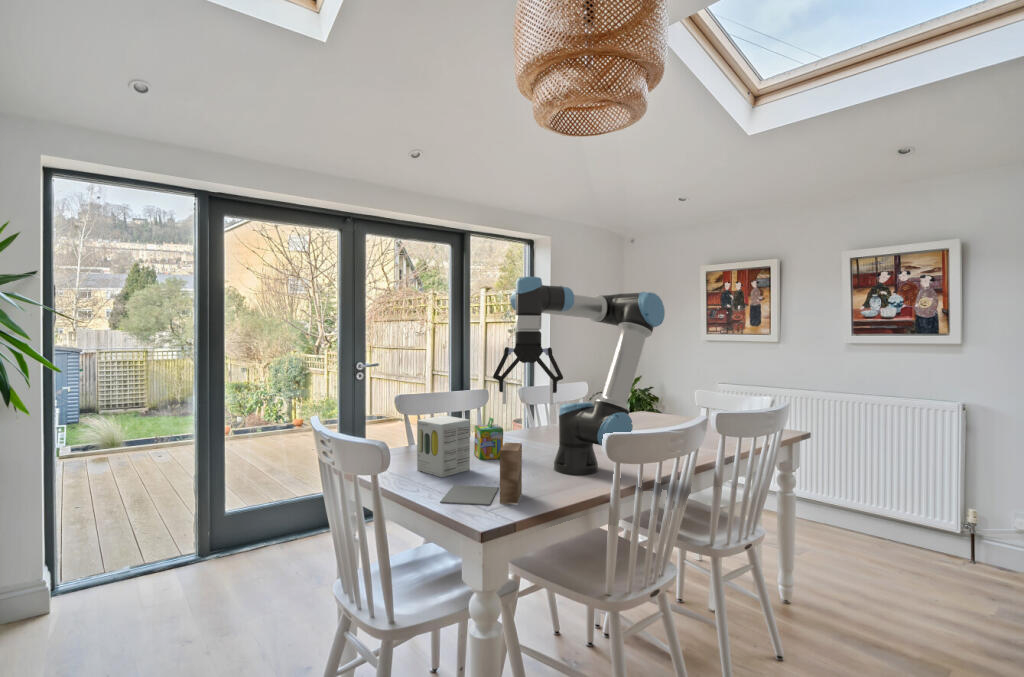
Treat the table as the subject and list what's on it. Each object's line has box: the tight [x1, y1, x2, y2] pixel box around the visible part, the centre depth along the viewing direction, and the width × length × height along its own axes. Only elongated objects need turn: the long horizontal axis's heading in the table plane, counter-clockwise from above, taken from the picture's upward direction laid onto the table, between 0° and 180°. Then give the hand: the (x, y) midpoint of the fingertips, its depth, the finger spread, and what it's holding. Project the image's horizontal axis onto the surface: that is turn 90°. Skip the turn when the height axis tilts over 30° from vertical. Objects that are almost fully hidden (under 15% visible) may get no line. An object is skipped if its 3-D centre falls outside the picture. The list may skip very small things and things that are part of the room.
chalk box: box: [473, 416, 504, 461], centre depth 205 cm, size 9×9×15 cm
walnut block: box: [499, 442, 523, 506], centre depth 156 cm, size 5×10×15 cm, turn 172°
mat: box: [439, 484, 500, 506], centre depth 159 cm, size 14×16×1 cm
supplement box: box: [416, 415, 471, 478], centre depth 186 cm, size 13×13×18 cm
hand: (527, 404), depth 158 cm, fingers open, 13 cm apart
